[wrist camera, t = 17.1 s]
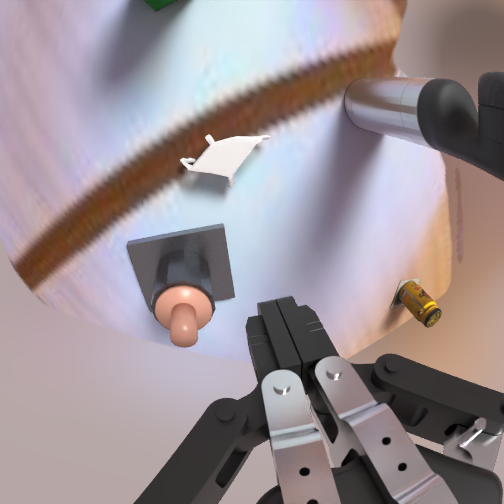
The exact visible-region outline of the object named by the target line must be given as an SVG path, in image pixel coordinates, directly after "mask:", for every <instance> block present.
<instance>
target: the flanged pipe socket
mask: <svg viewBox="0 0 504 504" xmlns="http://www.w3.org/2000/svg"><path fill="white" fill-rule="evenodd" d="M126 246H127V249H128V252H129V255H130V258H131V261H132V264H133V267H134V270H135V273H136V275H137V278H138V281H139V284H140V286H141V289H142V292H143V294H144V297H145V300H146V302H147V305H148V307H149V310H150V312H153V314H154V316H155V319H156V320H158V319H157V317H156V314H155V306H156V301H157V298H158V297H159V295H160V294H161V293H162V292H163V291H164V290H166V289H168V288H170V287H173V286H177V285H188V286H193V287H196V288H198V289H200V290H201V291H203V292H204V293H205V294H206V295H207V296H208V298H209V299H210V302H211V307H212V315H213V313H214V311H215V302H214V301H218V300H224V299H229V298H234V297H235V293H234V287H233V281H232V275H231V268H230V262H229V256H228V249H227V242H226V236H225V229H224V225H223V224H217V225H211V226H206V227H200V228H195V229H189V230H184V231H178V232H173V233H168V234H163V235H157V236H152V237H147V238H142V239H137V240H132V241H128V243H127V245H126ZM211 318H212V316H211ZM210 320H211V319H210ZM210 320H209V321H210Z"/></svg>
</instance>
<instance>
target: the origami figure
mask: <svg viewBox="0 0 504 504" xmlns="http://www.w3.org/2000/svg"><path fill="white" fill-rule="evenodd" d="M205 138H206V140H207V141H208V143H209V144H210V146H209V147H208V148H207V149H206V150H205V151H204V153H203V154H202V155H201V156H200V157H199V158H198V160H197V161H196V160H194V159H192V158H189V159H185V158H182V159H181V160H180V161H181V162H182V163H183V165H184V166H186V167H187V168H188V170H191V171H197V172H205V173H213V174H217V175H222V176H226V177H228V186H229V188H230V189H231V188H232V186H233V185H234V173H235V172H236V170H237V169H238V168H239V166H240V165H241V164H242V162H243V161H244V160H245V158H246V157H247V156H248V154H249V153H250V152H251V150H252V149H253V148H254V147H255V145H256V144H257V143H259V142H261V141H262V140H268V139H269V138H271V137H270V136H269V135H264V136H255V137H246V136H236V137H232V138H228V139H224V140H220V141H217V142H214V139H213V138H212V136H211V135H207V136H206V137H205ZM195 161H196V162H195ZM187 162H195V163H194V164H193V165H190V164H188V163H187Z"/></svg>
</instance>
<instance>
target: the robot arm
mask: <svg viewBox="0 0 504 504" xmlns="http://www.w3.org/2000/svg"><path fill="white" fill-rule="evenodd" d="M478 104H479V106H478V113H477V110H476V107H475V104H474V102H473V100H472V97H471V96H470V94H469V93H468V91H467V90H466V89H465V88H464V87H463V86H462V85H461V84H459V83H458V82H456V81H453V80H449V79H438V78H411V77H386V78H362V79H358V80H356V81H354V82H353V83H352V84H351V85H350V86H349V87H348V89H347V91H346V95H345V109H346V112H347V115H348V116H349V118H350V120H351V121H352V122H353V123H354V124H355V125H356V126H358V127H360V128H361V129H365V130H369V131H373V132H377V133H381V134H385V135H388V136H392V137H396V138H399V139H403V140H406V141H410V142H413V143H416V144H419V145H423V146H426V147H429V148H432V149H435V150H438V151H441V152H444V153H446V154H448V155H451V156H453V157H456V158H459V159H461V160H464V161H466V162H468V163H470V164H472V165H474V166H476V167H478V168H480V169H482V170H484V171H486V172H487V173H489V174H491V175H493V176H495V177H497V178H498V179H500V180H502V181H504V72H488V73H484V74H483V75H481V77H480V78H479V84H478ZM257 307H258V316H253V317H248V320H247V324H246V333H247V339H248V346H249V351H250V355H251V359H252V363H253V366H254V370H255V374H256V377H257V381H258V384H257V387H256V388H255V389H254V390H253V391H252V392H251V393H250V394H248V395H247V396H245V397H243V398H241V399H239V400H236V399H232V398H222V399H219V400H216V401H214V402H213V403H212V404H210V406H209V407H208V408H207V409H206V411H205V412H204V414H203V415H202V416H201V418H200V419H199V420H198V422H197V423H196V425H195V426H194V427H193V429H192V430H191V431H190V433H189V434H188V435H187V437H186V438H185V439H184V441H183V442H182V443H181V445H180V446H179V447H178V449H177V450H176V451H175V453H174V454H173V455H172V457H171V458H170V459H169V460H168V462H167V463H166V464H165V466H164V467H163V468H162V469H161V470H160V472H159V473H158V474H157V476H156V477H155V478H154V479H153V481H152V482H151V483H150V484H149V486H148V487H147V488H146V489H145V490H144V492H143V493H142V494H141V495H140V497H139V498H138V499H137V500H136V501H135V502H134V504H218V503H219V501H220V500H221V498H222V497H223V495H224V494H225V493H226V491H227V490H228V488H229V487H230V485H231V483H232V482H233V480H234V479H235V477H236V476H237V474H238V472H239V471H240V469H241V468H242V466H243V465H244V463H245V461H246V460H247V458H248V456H249V455H250V453H251V451H252V450H253V448H254V447H256V446H258V445H259V444H261V443H263V442H265V441H267V440H268V439H269V440H270V446H271V451H272V456H273V462H274V468H275V473H276V479H277V483H278V485H277V486H275V487H273V488H272V489H270V490H269V491H268V492H266V493H265V494H264V495H263V496H262V497H261V498H260V499H259V501H258V502H257V503H256V504H502V495H503V489H502V483H501V481H500V479H499V477H498V476H497V475H496V474H495V473H494V472H493V469H494V466H495V462H496V459H497V455H498V451H499V447H500V443H501V439H502V435H503V432H504V393H501V392H498V391H495V390H492V389H489V388H486V387H483V386H480V385H477V384H475V383H471V382H469V381H466V380H463V379H460V378H458V377H454V376H452V375H449V374H446V373H444V372H441V371H438V370H436V369H433V368H430V367H428V366H425V365H422V364H420V363H417V362H415V361H412V360H409V359H407V358H404V357H402V356H399V355H396V354H385V355H383V356H380V357H379V358H378V359H377V361H376V363H373V364H353V363H350V362H349V361H347V360H346V359H344V358H342V357H340V356H339V354H338V353H337V351H336V349H335V347H334V345H333V343H332V342H331V340H330V338H329V336H328V334H327V333H326V331H325V329H324V328H323V325H322V324H321V322H320V320H319V318H318V316H317V315H316V313H315V311H313V310H312V309H311V308H309V307H308V306H307V305H303V306H299V307H298V306H297V304H296V302H295V300H294V298H293V297H292V296H289V297H284V298H280V299H275V300H270V301H266V302H261V303H257ZM307 394H308V396H309V399H310V401H311V403H310V409H311V412H312V414H313V416H314V418H315V420H316V422H317V424H318V426H319V428H320V430H321V432H322V434H323V436H324V438H325V440H326V442H327V444H328V446H329V450H330V456H331V459H332V461H333V464H334V466H335V468H331V467H330V464H329V460H328V457H327V454H326V450H325V447H324V444H323V440H322V437H321V434H320V432H319V430H318V429H316V428H315V426H314V423H313V420H312V416H311V412H310V409H309V405H308V402H307V399H306V395H307ZM407 432H409V433H411V434H414V435H416V436H419V437H421V438H424V439H427V440H430V441H432V442H435V443H438V444H441V445H444V450H443V454H444V455H443V454H441V453H438V452H435V451H433V450H430V449H428V448H425V447H423V446H420V445H417V444H414V443H413V441H412V440H411V438H410V437H409V435H408V434H407Z"/></svg>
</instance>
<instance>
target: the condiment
mask: <svg viewBox="0 0 504 504" xmlns="http://www.w3.org/2000/svg"><path fill="white" fill-rule="evenodd" d="M420 279H421V278H417V279H410V280H405V281H401V282H400V285H399V287H398V290H397V293H396V295H395V299H394V301H393V303H392V306H391V309H392V308H395V307H399V306H406V307H407V309H408V310H409V311H410V312H411V313H412V314H413V315H414V317H415V318H416V319H417V320H418V321H420V322H422V323H423V324H424V325H425V326H426V327H431V326H433V325H434V324H435V323H436V322H437V321H438V320H439V319H440V317H441V313H442V312H441V310H440V309H439V308H438V307H437V306H436V303H435V301H434V300H433V299H432V298H431V297H430V296H429V295H428V294H427V293H426V292H425V291H424V290H423V289H422V288H421V287H420V286H419V285H418V283H419V280H420Z"/></svg>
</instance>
